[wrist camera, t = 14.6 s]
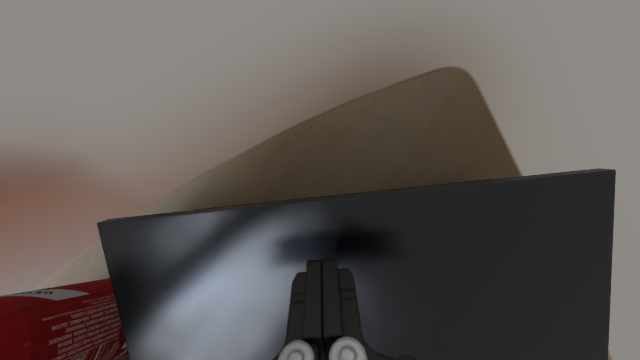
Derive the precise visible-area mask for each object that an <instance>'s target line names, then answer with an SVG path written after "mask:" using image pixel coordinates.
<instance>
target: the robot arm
mask: <svg viewBox="0 0 640 360" xmlns="http://www.w3.org/2000/svg"><path fill="white" fill-rule="evenodd" d="M272 360H419V359H417V358H415V357H413V356H410V355H402V356H399V357H398V358H396V359H395V358H392V357H389V356H386V355H383V354H380V353H378V352H376V351H374V350H373V349H372V348H371V347H370V346H369V345H368V344H367V343H366V341H365V339H364V337H363V333H362V328H361V321H360V315H359V308H358V301H357V295H356V288H355V281H354V276H353V275H352V273H351V272H350V270H349V269H348V268H344V269H338V265H337V258H328V259H322V260H321V259H317V260H307V264H306V272H298V273H297V274H296V276H295V278H294V280H293V281H292V287H291V296H290V305H289V314H288V323H287V332H286V339H285V343H284V346H283V348H282V349H281V351H280V352H279V354H278V355H277V356H276V357H275V358H273V359H272Z"/></svg>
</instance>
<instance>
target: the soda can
mask: <svg viewBox="0 0 640 360" xmlns="http://www.w3.org/2000/svg"><path fill="white" fill-rule="evenodd" d="M126 355H128V350H127V346H126V342H125V338H124V334H123V330H122V325H121V321H120V317H119V313H118V309H117V305H116V300H115V296H114V292H113V288H112V284H111V280H110V279H104V280H97V281H91V282H85V283H79V284H72V285H66V286H60V287H54V288H47V289H41V290H35V291H29V292H22V293H16V294H10V295H3V296H0V360H118V359H120V358H122V357H124V356H126Z"/></svg>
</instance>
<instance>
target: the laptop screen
mask: <svg viewBox="0 0 640 360" xmlns="http://www.w3.org/2000/svg"><path fill="white" fill-rule="evenodd" d="M615 175H616V171H615V170H612V169H590V170H580V171H570V172H560V173H551V174H541V175H532V176H522V177H512V178H502V179H493V180H483V181H473V182H464V183H454V184H444V185H434V186H425V187H415V188H405V189H396V190H386V191H376V192H367V193H357V194H347V195H338V196H328V197H318V198H308V199H299V200H289V201H279V202H270V203H260V204H250V205H241V206H231V207H221V208H212V209H202V210H192V211H182V212H173V213H163V214H153V215H144V216H134V217H124V218H115V219H108V220H105V221H102V222H98V223H97V226H98V229H99V234H100V238H101V242H102V246H103V251H104V255H105V259H106V263H107V267H108V271H109V276H110V280H111V284H112V288H113V292H114V296H115V300H116V305H117V309H118V313H119V317H120V321H121V325H122V330H123V334H124V338H125V342H126V346H127V350H128V354H129V359H130V360H272V359H273V358H275V357H276V356H277V355H278V354H279V352H280V351H281V349H282V348H283V346H284V343H285V339H286V332H287V323H288V314H289V305H290V296H291V287H292V281H293V280H294V278H295V276H296V274H297V273H298V272H306V264H307V260H317V259H321V260H322V259H328V258H337V265H338V269H344V268H348V269H349V270H350V272H351V273H352V275H353V276H354V281H355V288H356V295H357V301H358V308H359V315H360V321H361V328H362V333H363V337H364V339H365V341H366V343H367V344H368V345H369V346H370V347H371V348H372V349H373V350H374V351H376V352H378V353H380V354H383V355H386V356H389V357H392V358H395V359H396V358H398V357H399V356H402V355H410V356H413V357H415V358H417V359H419V360H608V343H609V319H610V295H611V271H612V270H611V269H612V246H613V223H614V198H615Z"/></svg>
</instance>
